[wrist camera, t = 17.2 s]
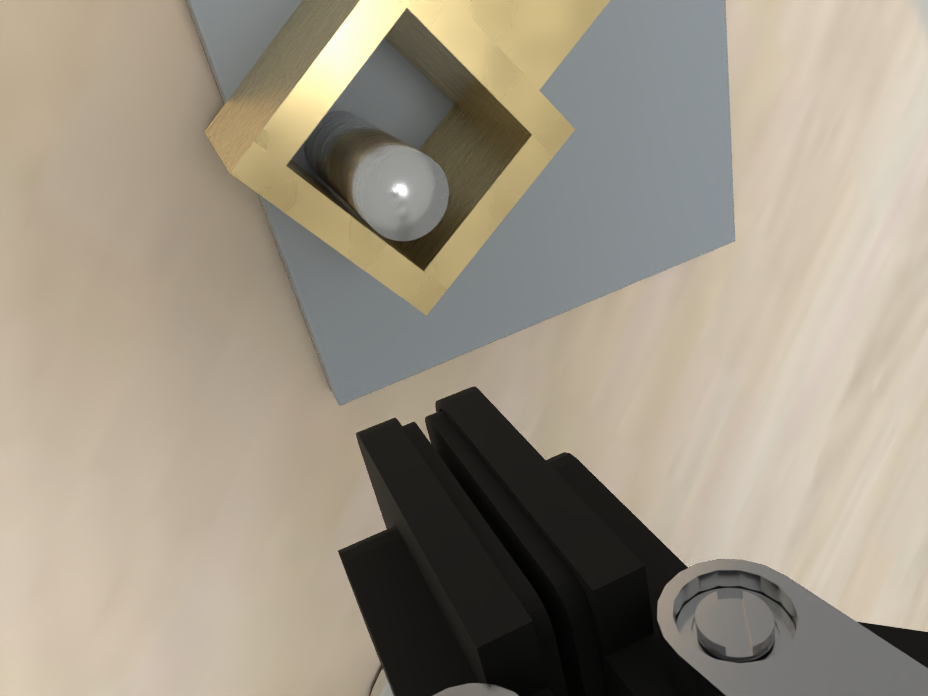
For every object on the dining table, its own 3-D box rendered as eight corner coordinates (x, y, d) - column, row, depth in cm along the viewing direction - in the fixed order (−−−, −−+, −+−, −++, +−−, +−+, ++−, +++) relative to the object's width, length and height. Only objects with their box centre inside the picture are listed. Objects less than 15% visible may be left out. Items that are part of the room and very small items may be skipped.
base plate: (713, 231, 36) (735, 240, 35) (330, 388, 32) (339, 406, 30) (681, -329, 26) (711, -344, 24) (106, -214, 21) (106, -225, 20)
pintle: (369, 160, 28) (457, 223, 21) (307, 182, 28) (376, 253, 21) (350, 95, 27) (436, 138, 20) (285, 116, 27) (351, 168, 20)
